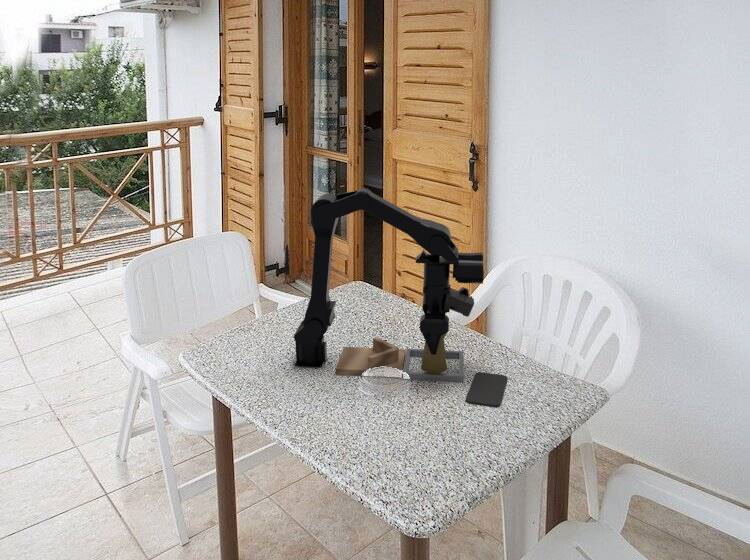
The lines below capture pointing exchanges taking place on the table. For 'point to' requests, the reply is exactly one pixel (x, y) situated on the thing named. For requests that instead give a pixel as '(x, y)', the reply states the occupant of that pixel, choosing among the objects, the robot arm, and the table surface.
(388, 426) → the table surface
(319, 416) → the table surface
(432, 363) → the cork
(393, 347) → the dog kennel
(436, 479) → the table surface
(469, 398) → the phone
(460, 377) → the steel collar
